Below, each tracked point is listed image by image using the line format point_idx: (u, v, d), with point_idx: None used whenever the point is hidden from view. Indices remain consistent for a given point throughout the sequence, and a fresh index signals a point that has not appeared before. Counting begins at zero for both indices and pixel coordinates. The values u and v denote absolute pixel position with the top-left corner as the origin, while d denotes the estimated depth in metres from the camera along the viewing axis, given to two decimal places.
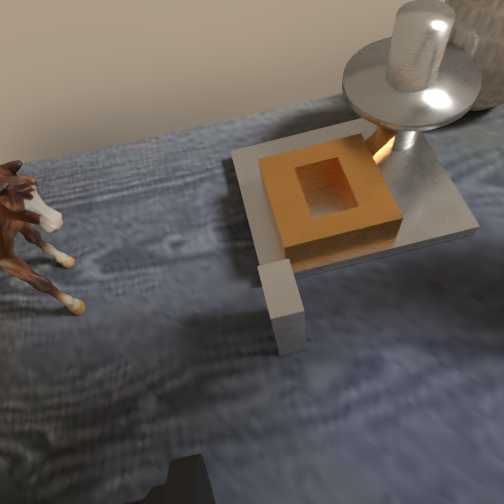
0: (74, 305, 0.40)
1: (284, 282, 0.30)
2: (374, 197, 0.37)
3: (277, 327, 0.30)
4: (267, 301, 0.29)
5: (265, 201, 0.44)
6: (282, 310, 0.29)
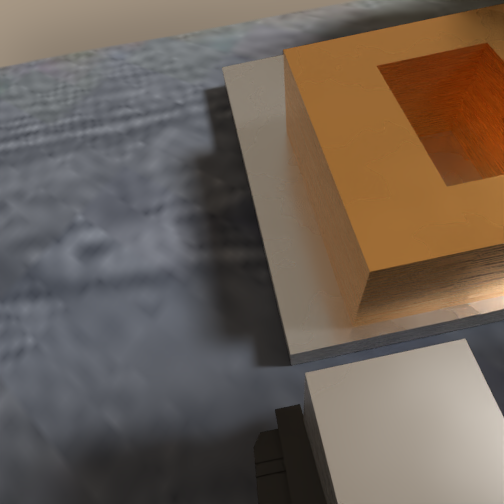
0: None
1: (469, 487, 0.05)
2: None
3: None
4: None
5: (293, 161, 0.20)
6: None
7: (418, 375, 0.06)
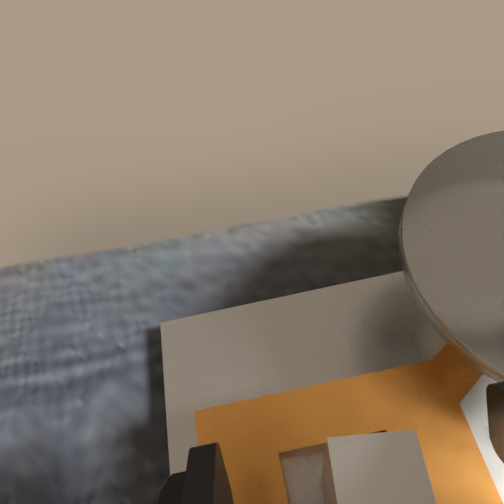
0: None
1: None
2: None
3: None
4: None
5: None
6: None
7: (387, 446, 0.11)
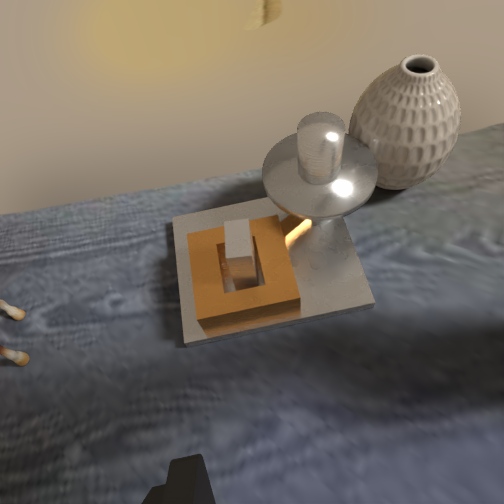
0: (17, 358, 0.46)
1: (241, 234, 0.40)
2: (279, 276, 0.43)
3: (232, 268, 0.40)
4: (226, 246, 0.39)
5: None
6: (235, 253, 0.38)
7: (240, 222, 0.40)
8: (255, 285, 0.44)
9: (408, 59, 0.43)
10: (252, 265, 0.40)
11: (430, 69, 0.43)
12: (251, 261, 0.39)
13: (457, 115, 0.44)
